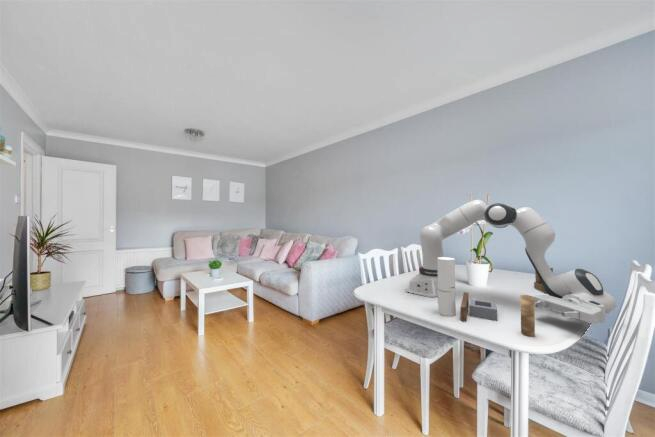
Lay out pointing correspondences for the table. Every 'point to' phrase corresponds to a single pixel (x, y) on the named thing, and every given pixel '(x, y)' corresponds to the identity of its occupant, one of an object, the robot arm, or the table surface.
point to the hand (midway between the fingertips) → (549, 309)
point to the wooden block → (539, 282)
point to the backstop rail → (464, 306)
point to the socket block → (483, 309)
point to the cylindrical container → (446, 286)
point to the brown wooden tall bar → (527, 315)
